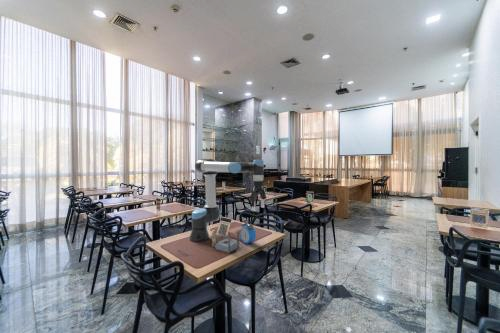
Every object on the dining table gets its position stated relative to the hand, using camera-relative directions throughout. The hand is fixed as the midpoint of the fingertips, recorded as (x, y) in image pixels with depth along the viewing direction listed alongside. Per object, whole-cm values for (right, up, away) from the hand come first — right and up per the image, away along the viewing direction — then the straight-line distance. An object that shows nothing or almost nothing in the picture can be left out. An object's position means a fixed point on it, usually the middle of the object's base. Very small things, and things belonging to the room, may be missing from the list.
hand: (258, 209), depth 158 cm
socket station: (-21, -27, -5) cm, 35 cm away
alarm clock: (-8, -27, +7) cm, 29 cm away
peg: (-33, -27, -1) cm, 43 cm away
